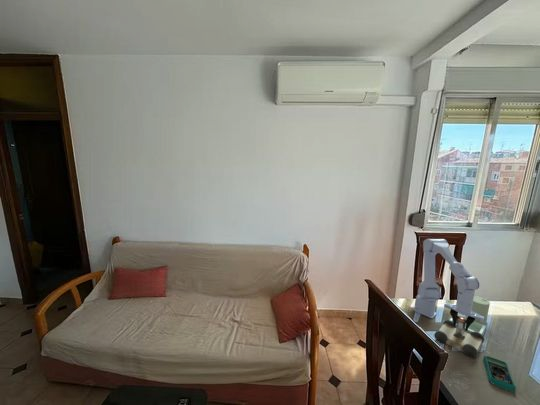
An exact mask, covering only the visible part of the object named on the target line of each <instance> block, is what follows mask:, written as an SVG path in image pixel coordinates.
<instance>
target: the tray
mask: <svg viewBox="0 0 540 405" xmlns="http://www.w3.org/2000/svg"><path fill="white" fill-rule="evenodd" d="M458 316H461V314H458ZM465 318H466V317H465ZM466 319H467V318H466ZM449 320H451V321H452V322H453V319H452V317H451V318H450V319H449ZM456 327H457V324H456ZM465 327H466V323H465ZM486 327H487V326H486V324H480V323H477V322H475V321H474V322H473V323H472V324H471V325H470V326H469V328H468V330H467V331H465V329H464V332H466V333H468V334H471V333H472V332H474V331H476V332H479V333H481V334H482V335H483V336H484V334H485V333H486Z"/></svg>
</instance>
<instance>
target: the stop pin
mask: <svg viewBox="0 0 540 405" xmlns="http://www.w3.org/2000/svg"><path fill="white" fill-rule="evenodd" d="M456 319H457V327H456V333H455V334H456V335H457V336H459V337H463V336H464V329H465V323H466V322H467V319H466V317H464V315H460V316H457V318H456Z"/></svg>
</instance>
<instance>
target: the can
mask: <svg viewBox="0 0 540 405" xmlns="http://www.w3.org/2000/svg"><path fill="white" fill-rule="evenodd" d="M490 304H491V302H490V301H489V300H488V299H486V298H484V297H481V296H478V295H474V299H473V305H472V311H473V312H475V313H477V314H479V315H481V316H483V317H484V320H483V322H480V321H479V320H477V319H475V320H474V321H475V322H477V323H480V324H482V325H487V323H488V322H487V321H488V316H489V310H490ZM464 316H466V317H465V318H467V317H468V316H467V315H464Z"/></svg>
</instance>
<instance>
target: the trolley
mask: <svg viewBox="0 0 540 405" xmlns="http://www.w3.org/2000/svg"><path fill="white" fill-rule="evenodd" d="M455 333H456V326H453V322H452V321H451V320H450V319H445V320H444V322H443V324H442V325H441V327H440V328H439V329H438V330H437V331H436V332H434V335H433V336H434V338H435V340H436V341H437V342H439V343H440V344H447V345H448V346H450V347H453V348H454V349H457V350H459V351H461V352H463V353H464V354H465V355H466V356H468V357H469V358H471V357H472V359H474V358H475V359H476V358H477V356H478V353H479V351H480V349H481V347H482V346H483V343H484V341H485V337H484V335H482V334H481V333H479V332H476V331H474V332H472V333H471V334H468V333H466V332H464V336H463V337H459V336H457V335H456V334H455Z"/></svg>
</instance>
